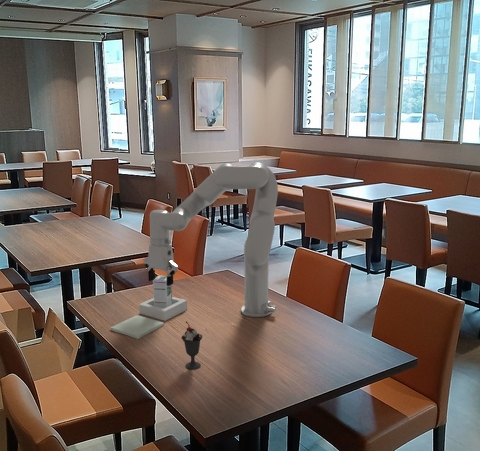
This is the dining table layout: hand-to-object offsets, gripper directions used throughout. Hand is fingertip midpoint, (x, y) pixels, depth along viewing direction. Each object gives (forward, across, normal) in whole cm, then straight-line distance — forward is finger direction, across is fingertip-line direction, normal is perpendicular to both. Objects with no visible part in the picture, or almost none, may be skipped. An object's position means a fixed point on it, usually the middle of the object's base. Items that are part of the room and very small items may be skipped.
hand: (160, 282), depth 208 cm
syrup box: (+13, -1, 0) cm, 13 cm away
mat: (+13, -3, +16) cm, 21 cm away
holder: (+12, -1, 0) cm, 12 cm away
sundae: (+12, -39, +28) cm, 50 cm away
